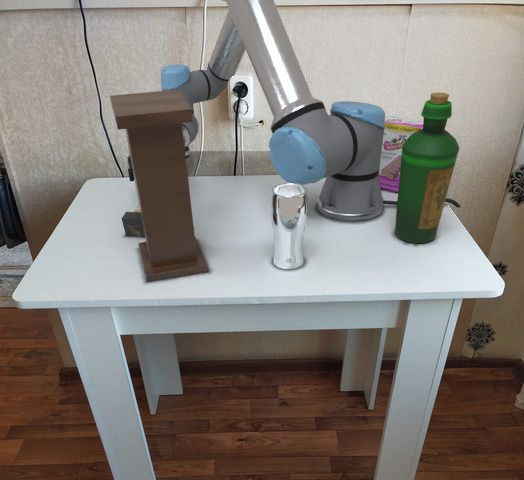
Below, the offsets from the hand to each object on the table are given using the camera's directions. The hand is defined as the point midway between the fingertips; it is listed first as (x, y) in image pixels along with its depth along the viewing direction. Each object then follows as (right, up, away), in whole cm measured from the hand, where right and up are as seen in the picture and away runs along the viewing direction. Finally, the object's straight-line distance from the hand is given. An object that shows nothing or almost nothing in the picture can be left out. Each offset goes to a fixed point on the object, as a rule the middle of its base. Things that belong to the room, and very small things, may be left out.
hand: (141, 175), depth 115 cm
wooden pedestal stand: (+8, -20, -9) cm, 24 cm away
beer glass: (+32, -21, -11) cm, 40 cm away
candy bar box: (+60, +2, +17) cm, 63 cm away
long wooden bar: (0, -6, +7) cm, 9 cm away
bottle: (+60, -14, -3) cm, 62 cm away
